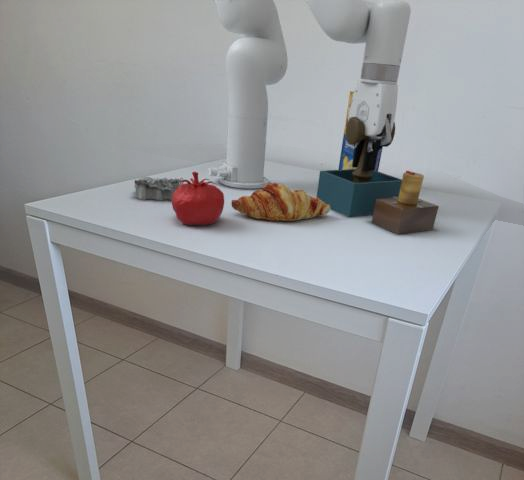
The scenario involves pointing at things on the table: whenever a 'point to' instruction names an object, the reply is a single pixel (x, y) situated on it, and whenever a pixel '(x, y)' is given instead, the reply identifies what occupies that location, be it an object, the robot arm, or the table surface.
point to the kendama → (356, 134)
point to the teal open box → (355, 191)
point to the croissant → (280, 204)
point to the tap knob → (410, 188)
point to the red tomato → (197, 202)
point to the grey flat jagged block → (156, 188)
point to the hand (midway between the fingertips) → (363, 168)
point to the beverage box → (351, 147)
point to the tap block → (404, 215)
